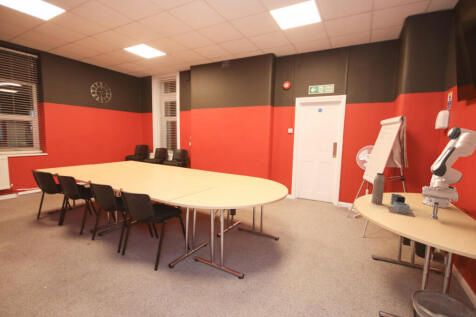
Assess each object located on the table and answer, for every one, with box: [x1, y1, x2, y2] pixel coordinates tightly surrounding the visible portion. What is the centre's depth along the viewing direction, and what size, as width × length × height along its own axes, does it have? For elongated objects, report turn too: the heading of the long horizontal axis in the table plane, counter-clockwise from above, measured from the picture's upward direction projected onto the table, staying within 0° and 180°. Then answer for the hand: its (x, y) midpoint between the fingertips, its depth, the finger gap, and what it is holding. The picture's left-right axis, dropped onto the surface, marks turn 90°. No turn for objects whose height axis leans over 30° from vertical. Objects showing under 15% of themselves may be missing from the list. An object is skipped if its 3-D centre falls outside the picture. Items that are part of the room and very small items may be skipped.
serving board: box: [387, 205, 416, 218], centre depth 176 cm, size 20×16×2 cm
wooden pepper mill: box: [371, 172, 386, 206], centre depth 194 cm, size 8×8×28 cm
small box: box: [390, 193, 406, 207], centre depth 190 cm, size 11×6×10 cm, turn 168°
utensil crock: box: [392, 202, 411, 214], centre depth 175 cm, size 10×10×6 cm
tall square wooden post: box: [430, 202, 439, 220], centre depth 163 cm, size 4×4×13 cm
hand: (438, 203), depth 165 cm, fingers open, 8 cm apart
